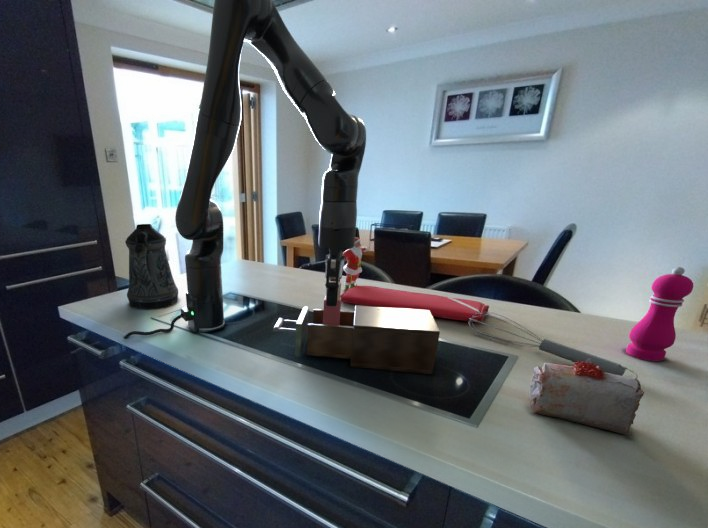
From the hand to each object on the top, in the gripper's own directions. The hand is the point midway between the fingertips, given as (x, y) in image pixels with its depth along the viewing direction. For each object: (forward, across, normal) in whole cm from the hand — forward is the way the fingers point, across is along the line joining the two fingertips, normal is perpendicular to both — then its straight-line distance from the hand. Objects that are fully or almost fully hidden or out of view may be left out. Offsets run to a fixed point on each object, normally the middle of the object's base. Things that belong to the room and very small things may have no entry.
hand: (332, 300), depth 86 cm
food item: (+13, +17, +42) cm, 48 cm away
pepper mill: (+13, -13, +69) cm, 71 cm away
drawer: (+12, 0, -2) cm, 12 cm away
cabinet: (+13, 0, +13) cm, 18 cm away
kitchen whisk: (+13, -10, +47) cm, 50 cm away
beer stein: (+13, -26, -59) cm, 66 cm away
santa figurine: (+13, -55, +3) cm, 56 cm away
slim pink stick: (+11, 0, 0) cm, 11 cm away
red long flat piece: (+13, -38, +22) cm, 46 cm away
